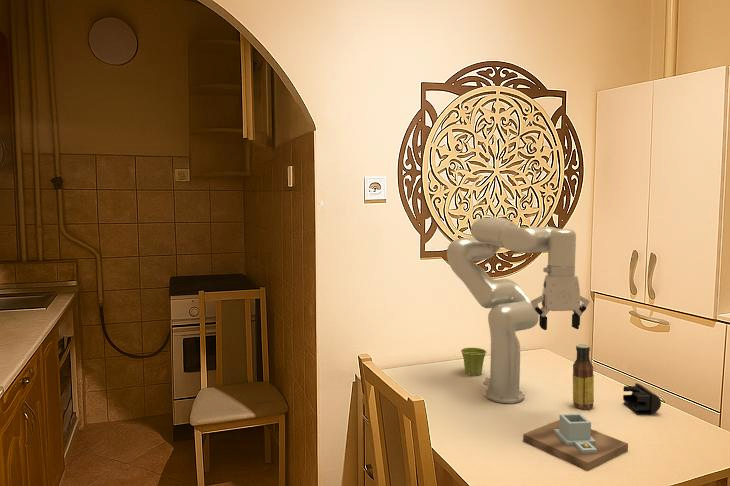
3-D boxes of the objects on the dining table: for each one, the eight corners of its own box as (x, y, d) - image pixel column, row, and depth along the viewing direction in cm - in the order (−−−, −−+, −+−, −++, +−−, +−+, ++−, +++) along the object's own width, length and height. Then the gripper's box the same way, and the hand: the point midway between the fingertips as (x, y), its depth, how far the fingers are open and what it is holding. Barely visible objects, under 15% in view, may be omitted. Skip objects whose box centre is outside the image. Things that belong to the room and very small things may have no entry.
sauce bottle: (593, 403, 181) (595, 344, 179) (594, 411, 175) (596, 349, 173) (571, 401, 183) (573, 342, 181) (571, 408, 177) (573, 347, 175)
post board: (523, 440, 155) (523, 418, 155) (563, 424, 165) (563, 403, 165) (587, 470, 139) (588, 445, 138) (627, 450, 149) (628, 427, 148)
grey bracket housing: (553, 432, 156) (554, 413, 155) (581, 431, 156) (582, 411, 156) (574, 454, 143) (575, 432, 143) (604, 452, 144) (605, 431, 143)
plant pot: (460, 368, 217) (460, 346, 216) (485, 369, 215) (485, 347, 214) (461, 376, 207) (461, 354, 207) (487, 377, 206) (487, 355, 205)
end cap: (660, 415, 172) (661, 394, 171) (638, 416, 172) (639, 394, 171) (643, 403, 182) (644, 382, 181) (622, 403, 182) (623, 383, 181)
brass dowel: (582, 449, 146) (582, 444, 145) (585, 448, 146) (585, 442, 146) (586, 451, 145) (586, 445, 145) (589, 450, 145) (589, 444, 145)
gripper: (537, 273, 159) (535, 332, 161) (595, 272, 161) (593, 331, 163) (527, 269, 167) (526, 326, 169) (583, 268, 168) (581, 324, 170)
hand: (559, 328), depth 166 cm, fingers open, 9 cm apart
